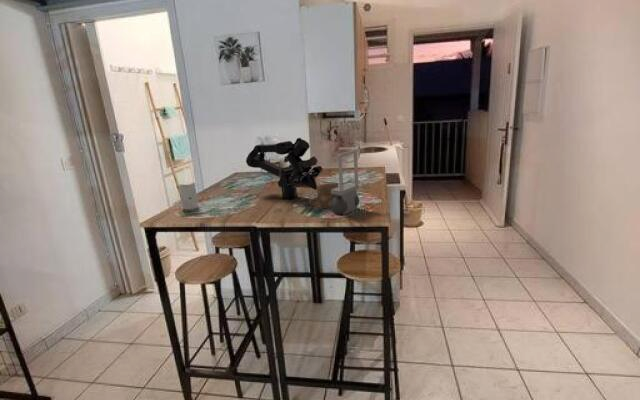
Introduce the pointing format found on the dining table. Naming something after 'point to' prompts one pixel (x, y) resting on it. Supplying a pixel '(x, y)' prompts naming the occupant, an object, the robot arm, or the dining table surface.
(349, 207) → the trolley
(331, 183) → the brown stepped block
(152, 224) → the dining table surface
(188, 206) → the skincare box
